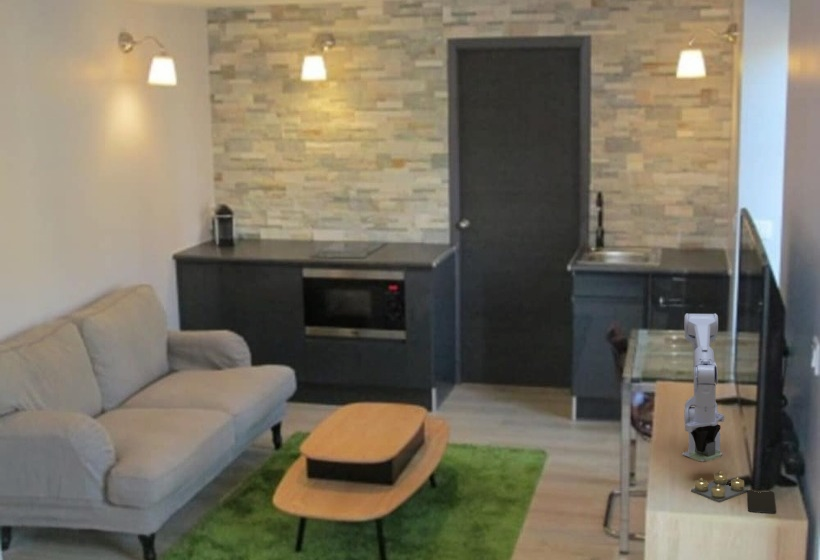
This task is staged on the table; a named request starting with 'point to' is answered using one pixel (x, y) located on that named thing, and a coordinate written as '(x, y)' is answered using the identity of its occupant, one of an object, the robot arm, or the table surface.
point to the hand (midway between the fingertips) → (704, 449)
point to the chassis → (719, 487)
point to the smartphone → (761, 502)
